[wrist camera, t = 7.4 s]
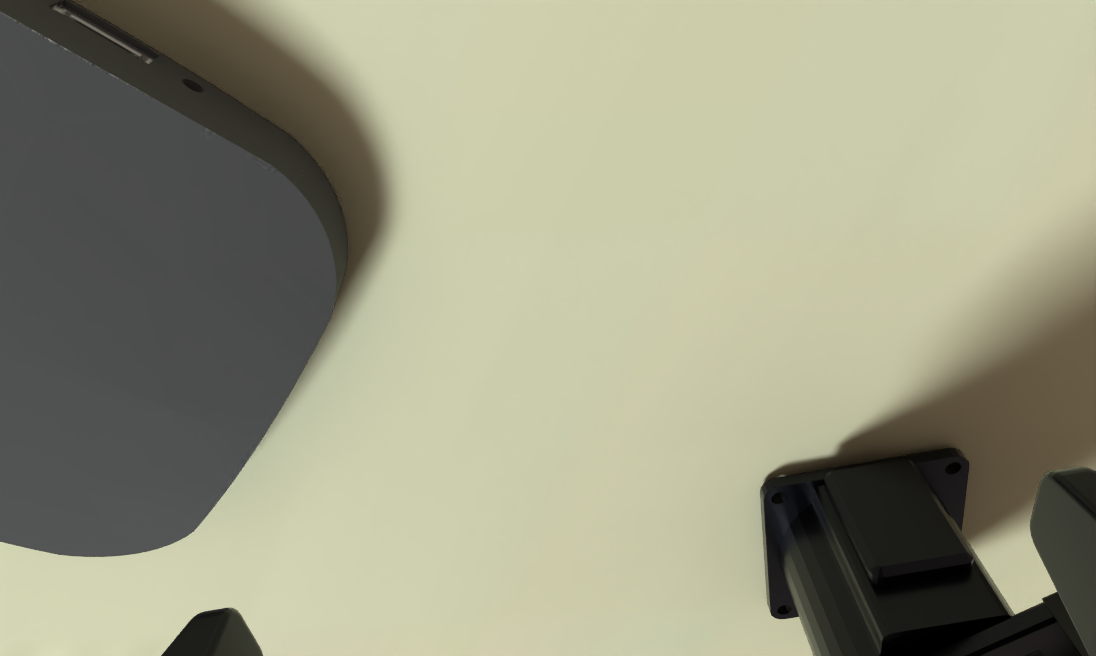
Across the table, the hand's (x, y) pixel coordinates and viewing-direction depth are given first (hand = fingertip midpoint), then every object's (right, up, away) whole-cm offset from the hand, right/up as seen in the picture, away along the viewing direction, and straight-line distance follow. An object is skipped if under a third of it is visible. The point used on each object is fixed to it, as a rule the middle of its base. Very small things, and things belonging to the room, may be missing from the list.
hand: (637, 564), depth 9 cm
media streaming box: (-15, +4, +13) cm, 20 cm away
